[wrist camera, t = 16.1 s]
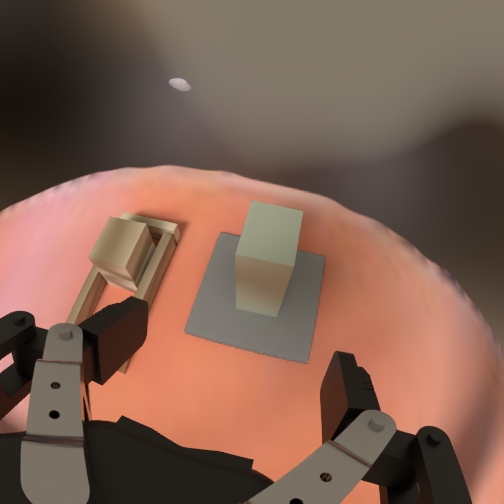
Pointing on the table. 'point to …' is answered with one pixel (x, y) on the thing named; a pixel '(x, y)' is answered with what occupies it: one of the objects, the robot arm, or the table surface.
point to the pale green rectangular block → (266, 257)
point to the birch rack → (149, 281)
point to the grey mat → (254, 324)
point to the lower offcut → (133, 286)
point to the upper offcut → (121, 248)
